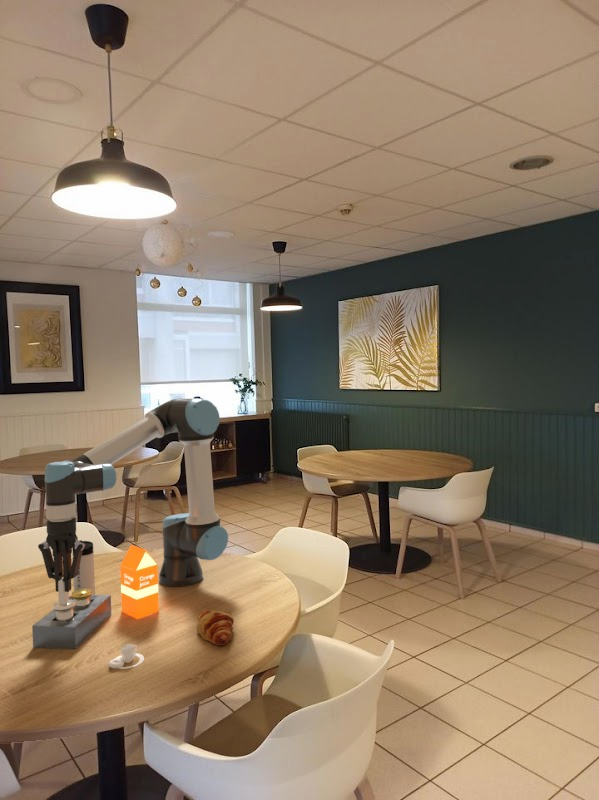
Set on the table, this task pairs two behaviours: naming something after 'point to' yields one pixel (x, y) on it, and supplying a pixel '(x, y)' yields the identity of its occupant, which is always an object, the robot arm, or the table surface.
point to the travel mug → (85, 569)
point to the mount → (71, 625)
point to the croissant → (215, 626)
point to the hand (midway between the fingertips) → (63, 602)
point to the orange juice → (139, 583)
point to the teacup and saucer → (126, 657)
